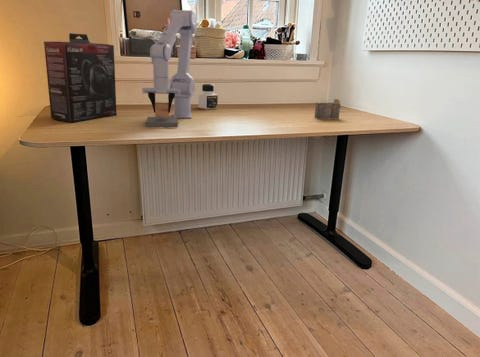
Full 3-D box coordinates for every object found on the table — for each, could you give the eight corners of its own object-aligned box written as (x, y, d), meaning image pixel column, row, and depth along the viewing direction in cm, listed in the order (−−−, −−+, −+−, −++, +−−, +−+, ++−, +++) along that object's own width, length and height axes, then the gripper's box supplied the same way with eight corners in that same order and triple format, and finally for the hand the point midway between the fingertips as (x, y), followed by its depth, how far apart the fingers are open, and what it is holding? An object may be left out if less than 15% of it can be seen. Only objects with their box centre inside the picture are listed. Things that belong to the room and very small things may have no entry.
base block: (148, 122, 159) (147, 116, 158) (177, 123, 161) (177, 117, 160) (146, 128, 148) (145, 122, 147) (177, 129, 150) (177, 122, 149)
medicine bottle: (206, 109, 194) (207, 85, 190) (198, 107, 198) (198, 83, 194) (217, 108, 198) (218, 84, 194) (209, 106, 203) (209, 83, 199)
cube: (156, 114, 155) (155, 102, 153) (168, 115, 156) (168, 102, 154) (155, 117, 150) (154, 104, 149) (168, 117, 151) (168, 104, 149)
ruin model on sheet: (335, 118, 187) (338, 98, 184) (338, 119, 184) (341, 99, 181) (313, 118, 184) (316, 98, 181) (316, 119, 182) (318, 99, 178)
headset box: (98, 112, 175) (92, 34, 164) (119, 115, 169) (114, 35, 158) (50, 119, 154) (39, 31, 143) (72, 123, 149) (62, 32, 138)
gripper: (140, 77, 143) (142, 113, 148) (180, 78, 145) (180, 114, 150) (142, 75, 150) (144, 110, 154) (180, 76, 152) (180, 111, 156)
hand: (162, 112), depth 153 cm, fingers closed on cube, 5 cm apart
